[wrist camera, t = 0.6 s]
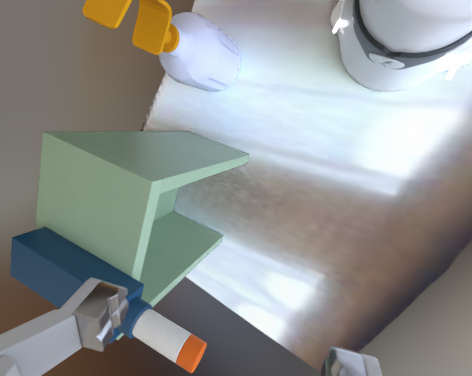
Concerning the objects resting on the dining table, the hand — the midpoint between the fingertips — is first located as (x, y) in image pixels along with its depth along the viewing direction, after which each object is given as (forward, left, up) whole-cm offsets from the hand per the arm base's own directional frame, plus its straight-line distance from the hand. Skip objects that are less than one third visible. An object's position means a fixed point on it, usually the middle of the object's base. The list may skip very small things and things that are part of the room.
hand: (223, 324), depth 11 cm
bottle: (+13, -11, -10) cm, 20 cm away
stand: (+11, -17, -37) cm, 42 cm away
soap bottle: (-10, -23, -37) cm, 45 cm away
